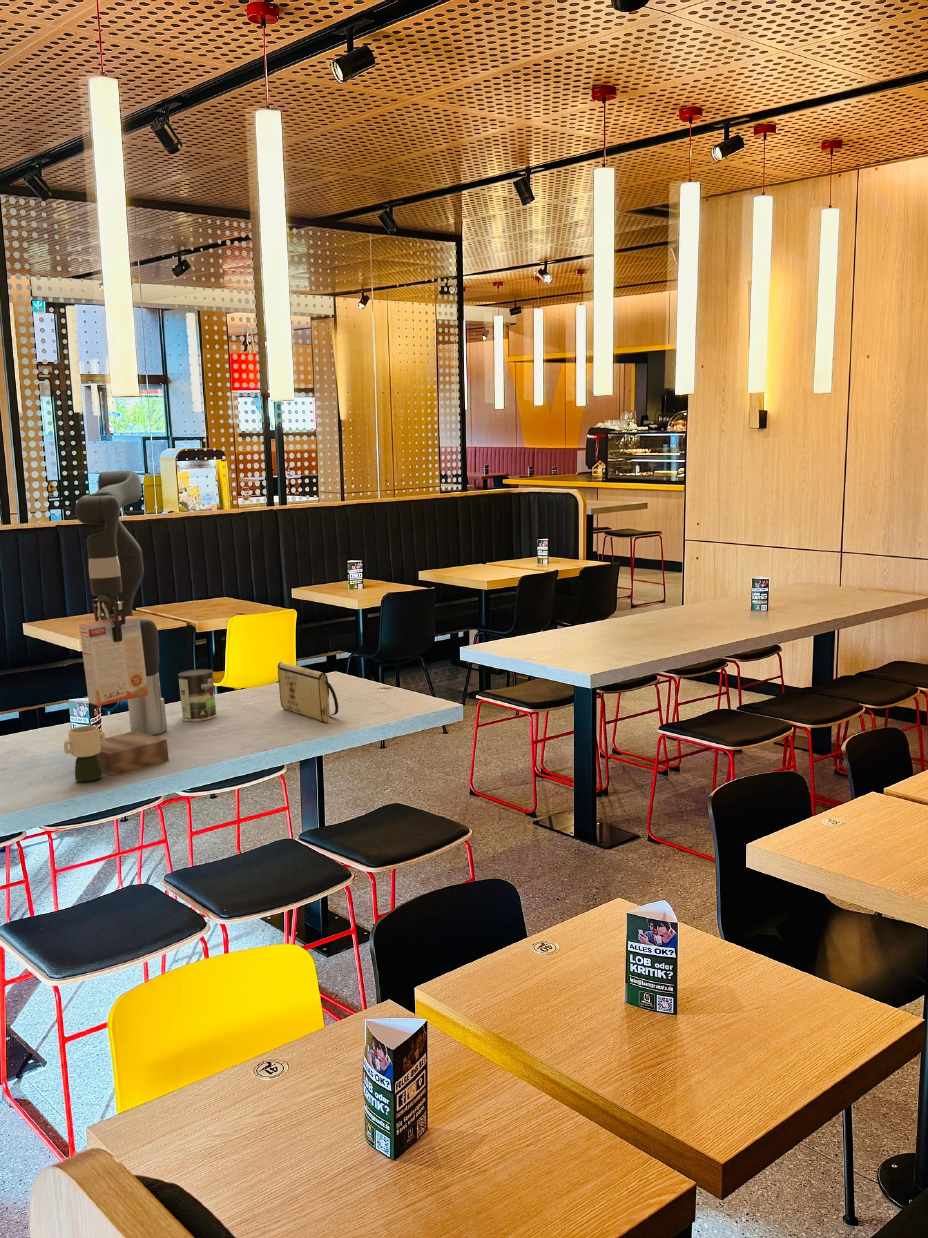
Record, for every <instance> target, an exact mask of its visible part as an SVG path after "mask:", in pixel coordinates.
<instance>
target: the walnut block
mask: <svg viewBox="0 0 928 1238" xmlns="http://www.w3.org/2000/svg"><path fill="white" fill-rule="evenodd" d="M100 741H101V739H100ZM100 746H101V750H100V753H98V754H96V756H97V757H98V760H99V764H100V768H101V772H102V774H105V775H107V776H111V777H114V776H117V775H121V774H126V773H128V772H132V771H136V770H139V769H142V768H147V767H150V766H153V765H157V764H160V763H164V762H168V761H170V759H169V749H168V740H167V738H162V737H159V736H156V735H148V734H144V733H141V732H137V731H133V732H131V731H129V732H126V733H122V734H118V735H117V734H116V735H113V736H109V737H105V743H104V744H102V745H100Z"/></svg>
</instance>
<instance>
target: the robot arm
mask: <svg viewBox="0 0 928 1238" xmlns="http://www.w3.org/2000/svg"><path fill="white" fill-rule="evenodd" d="M97 486H98V487H97V488H98V490H97V491H96V492H94V493H89V494H86V495H83V496H81V497H79V499H78V500H77V501H76V503H75V508H74V512H75V516H76V518H77V520H78V521H79V522H80V523H82V524H83V525H86V526H87V525H89V526H90V525H92V526H93V525H104V529H103V530H102V531H101V532H97V533H93V534H91V535H89V536H88V537H87V538H86V547H87V556H88V576H89V582H90V583H89V584H90V592H91V595H93V596H97V597H96V599H92V600H91V602H92V603H91V604H92V610H93V615H94V621H100V620H107V619H108V620H110V623H111V626H112V635H113V641H114V642H120V641H122V630H121V626H122V625H123V624H125V617H126V616H133V617H134V615H133V603H134V598H135V596H136V593H137V591H138V589H139V587H140V585H141V582H142V580H143V577H144V574H145V572H144V571H145V566H144V560H143V552H142V551H143V550H142V548H141V546H140V544H139V543H138V541H136V539H135V538H134V536H133V535H132V534H131V533H130V532H129V531H128V530H127V528H126V527H125V525H124V524H123V523H122V521H121V519H120V515H121V508H123V507H125V506H127V505H130V504H133V503H137V502H138V501H139V500H140V499H141V497H142V483H141V479H140V476H139V475H138V473H137V472H135V471H133V470H128V469H127V470H126V469H125V470H115V471H114V470H111V471H102V472H100V473H99V475H98V477H97ZM113 619H114V620H113ZM140 627H141V635H142V644H143V653H144V662H145V671H146V680H147V689H148V695H146V696H142V697H137V698H132V699H127V705H128V716H129V725H130V732H133V731H137V732H141V733H144V734H148V735H152V736H156V735H158V734H161V733H163V732H165V731H168V724H167V716H166V715H167V714H166V704H165V699H164V698H163V697H162V693H161V684H160V674H159V665H160V646H159V631H158V628H157V625H156V623H155V622H154V621H153V620H151V619H148V618H143V619H142V618H141V619H140Z"/></svg>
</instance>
